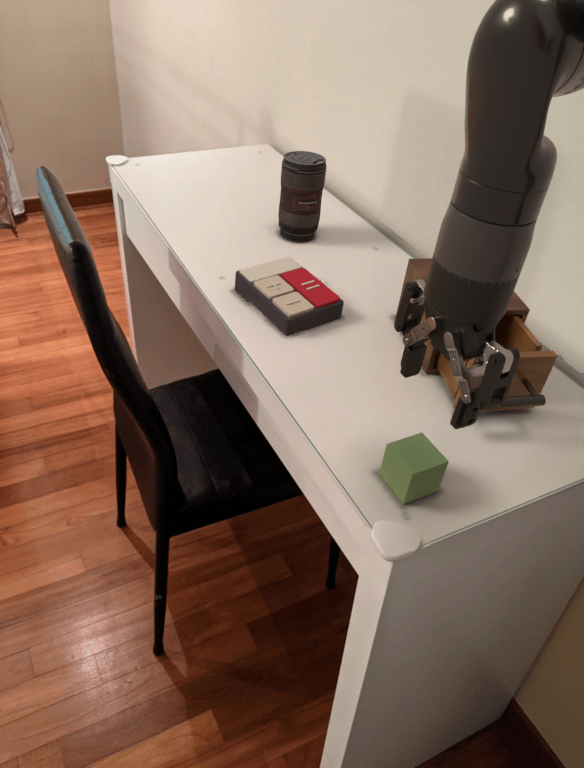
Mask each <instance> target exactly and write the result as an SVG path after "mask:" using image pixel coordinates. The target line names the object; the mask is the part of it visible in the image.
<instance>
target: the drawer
mask: <svg viewBox="0 0 584 768" xmlns="http://www.w3.org/2000/svg"><path fill="white" fill-rule="evenodd" d="M495 342H496V343H498V344H499V345H501V346H502V347H503V348H505V349H506V350H507V349H511V348H516V349H517V350H518V351H519V353H520V359H519V362H518V364H517V367H516V370H515V373H514V376H513V379H512V382H511V385H510V388H509V391H508V394H507V396H506V399H505V402H504V403H503V404H501V405H498V406H495V407H491V408H488V409H485V410H482V411H481V410H480V411H479V412H487V411H488V412H489V411H504V410H505V411H507V410H521V409H523V410H524V409H535V407H543V406H545V405H546V401H547V399H546V397H545V395H544V394H542V392H543V390H544V388H545V386H546V383H547V381H548V379H549V376H550V374H551V372H552V369H553V368H554V365H555V363H556V361H557V359H558V354H557V353H556V352H555V351H554V350H542V348H543V344H542V343H541V342H540V341H539V339H538V338H537V337H536V336H535V334H533V332H532V331H531V329H529V327H528V325H526V323H523V321H522V320H521V319H520V318H519V316H518V315H504V316H503V317H502V319H501V320H500V321H499V323H498V324H497V326H496V328H495ZM434 363H435V365H436V367H437V369H438V370H439V372H440V373H439V374H440V376H441V377H442V380H443V381H444V383H445V385H446V386H447V388H448V390H449V392H450V393H451V395H452V397H453V398H454V401H453V404H452V409H453V411H454V410H455V407H456V405H457V402H458V399H459V397H461V394H460V388H459V382H458V380H457V379H455V378H454V377H453V373H452V368H451V363H450V362H449V361H448V360H447V359H446V358H445V357H444V355H443V354H442V353H441V351H439V350H438V351H437V355H436V358H435V361H434ZM474 364H475V358H473V359H471V360H467V361H464V366H465V368H468V367H472V366H474ZM471 384H472V388H475V387H476V383H475V378H474V376H473V377H472V378H471Z"/></svg>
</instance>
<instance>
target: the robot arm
mask: <svg viewBox="0 0 584 768" xmlns="http://www.w3.org/2000/svg"><path fill="white" fill-rule="evenodd" d="M465 73H466V74H465V98H464V104H465V105H464V120H463V121H464V123H463V125H464V151H463V155H462V158H461V161H460V164H459V168H458V172H457V176H456V180H455V183H454V187H453V191H452V195H451V197H450V198H451V199H450V201H449V205H448V207H447V210H446V211H445V213H444V216H443V218H442V221H441V224H440V228H439V231H438V235H437V238H436V242H435V247H434V251H433V254H432V261H431V265H430V269H429V272H428V276H427V279H421V280H416V281H412V282H408V283H406V285H405V289H404V292H403V296H402V299H401V303H400V306H399V309H398V308H397V309H398V313H397V312H396V314H397V316H396V315H395V317H396V318H395V320H394V324H393V327H394V330H395V331H396V332H397V333H401V335H402V336H403V337H402V343H403V345H404V348H403V352H402V355H401V360H400V371H399V373H400V375H401V376H402V377H403V378H404V379H407V378H410V377H415V376H417V375H419V374H420V373H421V370H422V368H423V367H422V364H423V360H424V357H425V353H426V350H427V346H426V345H425V344H424V342H427V341H429V340H431V345H432V346H433V347H434V348H435V349H437V350H439V351H441V353H442V354H443V355H444V357H445V358H446V359H447V360H448V361H449V362H450V363H451V368H452V373H453V377H454V378H455V379H457V380H458V382H459V388H460V394H461V397H459V399H458V402H457V405H456V407H455V410H454V409H453V413H452V416H451V420H450V422H449V425H450V426H451V427H452V428H453V429H454V430H459V429H464V428H466V427H470V426H473V425H474V424H476V421H477V420H478V416H479V414H480V412H483V411H482V410H485V409H488V408H491V407H495V406H498V405H501V404H503V403H504V402H505V399H506V396H507V394H508V391H509V388H510V385H511V382H512V379H513V376H514V373H515V370H516V367H517V364H518V362H519V359H520V353H519V351H518V350H517V349H516V348H511V349H507V350H506V349H505V348H503V347H502V346H501V345H499V344H498V343H496V342H495V328H496V326H497V324H498V323H499V321H500V320H501V319H502V317H503V316H504V314H505V313H506V311H507V308H508V305H509V303H510V300H511V297H512V295H513V292H515V290H516V286H517V284H518V282H519V281H518V280H519V278H520V276H521V273H522V270H523V267H524V265H525V263H526V260H527V257H528V254H529V252H530V248H531V245H532V243H533V237H534V232H535V227H536V225H537V221H538V217H539V215H540V213H541V210H542V208H543V205H544V201H545V199H546V196H547V193H548V191H549V189H550V186H551V182H552V180H553V176H554V173H555V171H556V170H555V169H556V165H557V161H558V150H557V146H556V145H555V143H554V142H553V141H552V140H551V138H549V137H548V136H547V135H545V129H546V125H547V119H548V114H549V109H550V105H551V103H552V100H553V98H557V97H563V96H568V95H571V94H574V93H576V92H579V91H581V90H583V89H584V0H495V1H493V3H492V4H491V5H490V6H489V8H488V9H487V11H486V12H485V13H484V15H483V17H482V19H481V20H480V23H479V24H478V27H477V28H476V31H475V33H474V35H473V39H472V42H471V44H470V48H469V53H468V58H467V65H466V72H465ZM424 311H425V317H426V320H425V321H424V322H423V323H421V324H420V322H421V319H422V316H423V313H424ZM410 314H411V317H410V318H408V316H409V315H410ZM473 358H475V364H474V366H472V367H468V368H465V366H464V361H467V360H471V359H473ZM473 376H474V378H475V383H476V387H475V388H472V384H471V378H472V377H473ZM480 410H481V411H480Z"/></svg>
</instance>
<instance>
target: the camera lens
mask: <svg viewBox="0 0 584 768" xmlns="http://www.w3.org/2000/svg"><path fill="white" fill-rule="evenodd" d="M280 171H281V172H280V193H279V205H278V214H277V215H278V228H279V234H280V236H281V237H282V238H283V240H286V241H289V242H292V243H293V242H294V243H306V242H310V241H312V240H313V239H314V238H315V236H316V235H315V234H316V231H318V228H319V223H320V219H321V213H322V211H321V209H322V199H323V191H324V187H325V183H326V176H327V175H326V174H327V159H326V157H325V156H324V155H322V154H320V153H317V152H313V151H307V150H293V151H289V152H286V153H285V154H284V155H283V159H282V161H281V170H280Z"/></svg>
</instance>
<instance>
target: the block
mask: <svg viewBox="0 0 584 768" xmlns="http://www.w3.org/2000/svg"><path fill="white" fill-rule="evenodd" d="M449 463H450V461H449V460H448V459H447V458H446V456H444V455H443V453H442V452H441V451H440V450H439V449H438V448H437V447H436V446H435V444H434V443H433V442H432V441H431V440H430V439H429V438H428V437H427V436H426V435H425V433H423V432H418V433H416V434H412V435H410V436H407V437H403V438H401V439H398V440H395V441H391V442H388V443H386V445H385V449H384V453H383V456H382V461H381V465H380V468H379V471H378V474H379V476H380V477H381V478H382V480H383V481H384V482H385V484H386V485H387V486H388V488H390V490H391V491H392V492H393V494H394V495H395V496H396V497H397V498H398V500H399V501H400V503H402V505H406V504H409V503H410V502H413V501H416V500H419V499H422V498H424V497H427V496H429V495H432V494H434V493H437V492H439V490H440V489H441V488H440V487H441V486H442V482H443V479H444V476H445V474H446V471H447V469H448V466H449Z"/></svg>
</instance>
